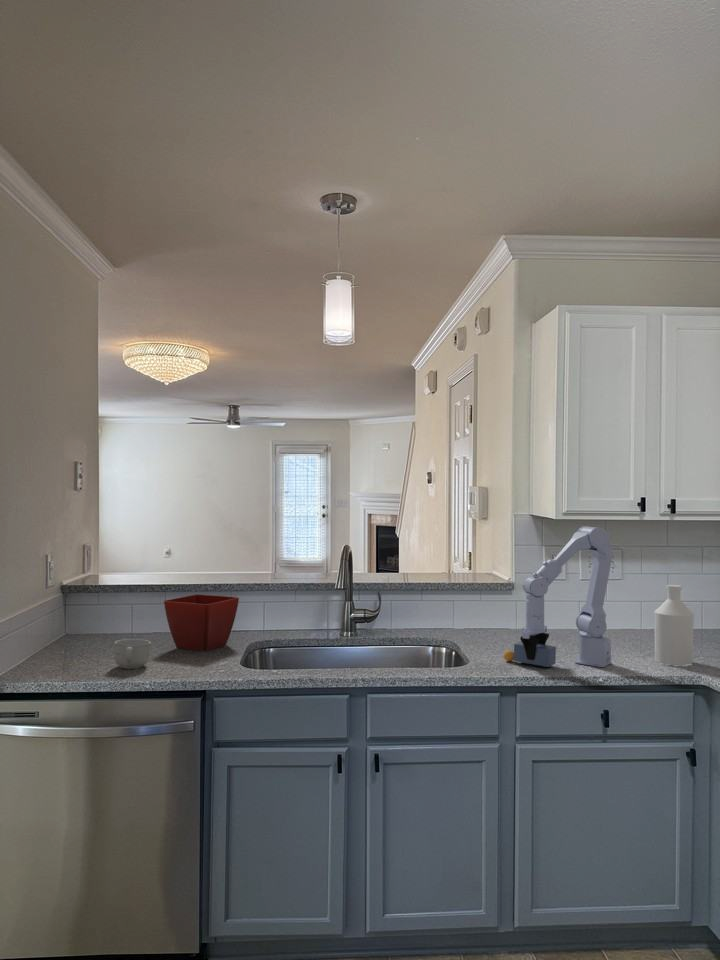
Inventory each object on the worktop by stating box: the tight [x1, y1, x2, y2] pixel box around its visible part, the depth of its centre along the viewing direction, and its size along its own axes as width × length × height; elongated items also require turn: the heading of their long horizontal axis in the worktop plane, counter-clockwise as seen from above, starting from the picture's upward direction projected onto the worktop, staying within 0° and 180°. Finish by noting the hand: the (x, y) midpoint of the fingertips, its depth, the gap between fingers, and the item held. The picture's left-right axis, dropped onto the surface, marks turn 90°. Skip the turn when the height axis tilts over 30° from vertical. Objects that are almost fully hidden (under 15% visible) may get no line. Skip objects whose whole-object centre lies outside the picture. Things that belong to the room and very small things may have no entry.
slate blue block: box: [513, 640, 557, 668], centre depth 239 cm, size 12×6×5 cm, turn 53°
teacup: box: [113, 638, 152, 670], centre depth 232 cm, size 14×11×8 cm
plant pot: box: [163, 594, 240, 652], centre depth 263 cm, size 19×19×17 cm
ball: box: [503, 649, 514, 662], centre depth 244 cm, size 4×4×4 cm
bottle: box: [653, 584, 695, 665], centre depth 244 cm, size 12×12×25 cm
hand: (534, 657), depth 239 cm, fingers closed on slate blue block, 6 cm apart
